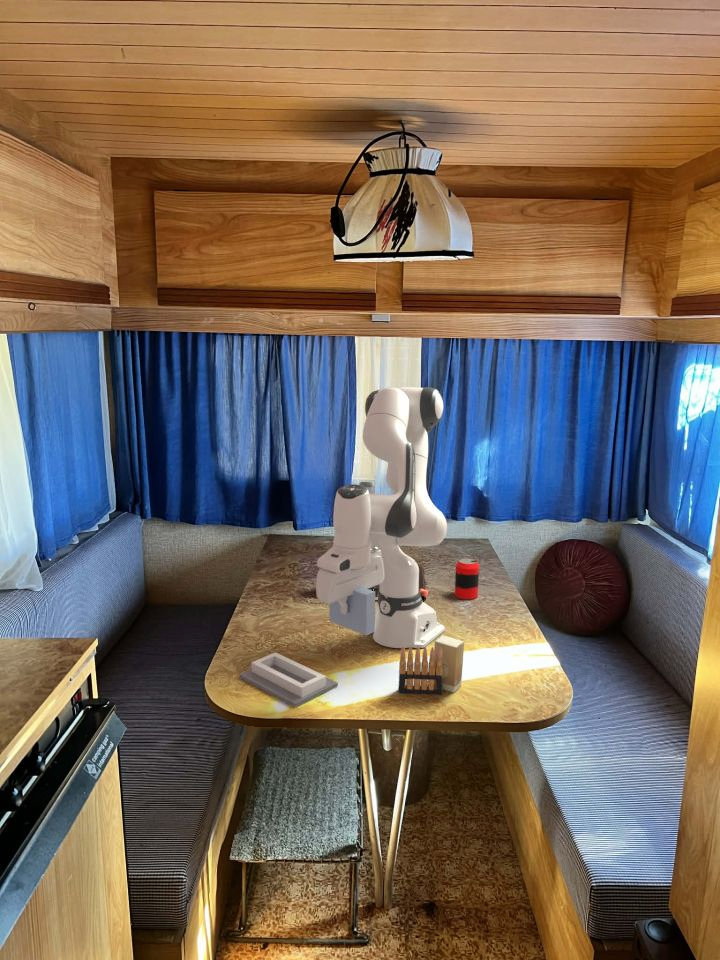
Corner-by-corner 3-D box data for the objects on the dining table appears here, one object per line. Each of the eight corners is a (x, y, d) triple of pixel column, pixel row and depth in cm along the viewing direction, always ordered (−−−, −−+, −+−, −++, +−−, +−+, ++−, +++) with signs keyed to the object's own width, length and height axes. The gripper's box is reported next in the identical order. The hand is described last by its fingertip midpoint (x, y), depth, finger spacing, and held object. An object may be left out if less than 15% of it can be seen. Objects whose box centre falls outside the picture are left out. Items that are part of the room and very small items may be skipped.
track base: (281, 659, 193) (281, 647, 193) (337, 686, 179) (337, 673, 179) (239, 677, 183) (239, 665, 183) (295, 707, 169) (295, 694, 169)
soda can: (479, 600, 236) (481, 565, 234) (456, 600, 236) (457, 565, 234) (475, 591, 244) (477, 557, 241) (453, 591, 243) (454, 557, 241)
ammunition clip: (441, 691, 177) (443, 645, 175) (442, 695, 176) (443, 649, 173) (398, 689, 178) (399, 644, 176) (398, 693, 176) (399, 647, 174)
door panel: (338, 617, 178) (338, 579, 176) (374, 631, 171) (375, 591, 168) (329, 621, 176) (329, 582, 174) (366, 635, 168) (366, 594, 166)
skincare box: (431, 686, 180) (433, 640, 177) (439, 679, 183) (441, 634, 181) (454, 693, 176) (456, 647, 174) (462, 686, 180) (464, 640, 177)
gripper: (371, 542, 179) (370, 595, 182) (311, 561, 164) (312, 618, 167) (390, 547, 175) (389, 601, 178) (331, 568, 160) (331, 626, 163)
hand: (351, 610), depth 173 cm, fingers closed on door panel, 3 cm apart
